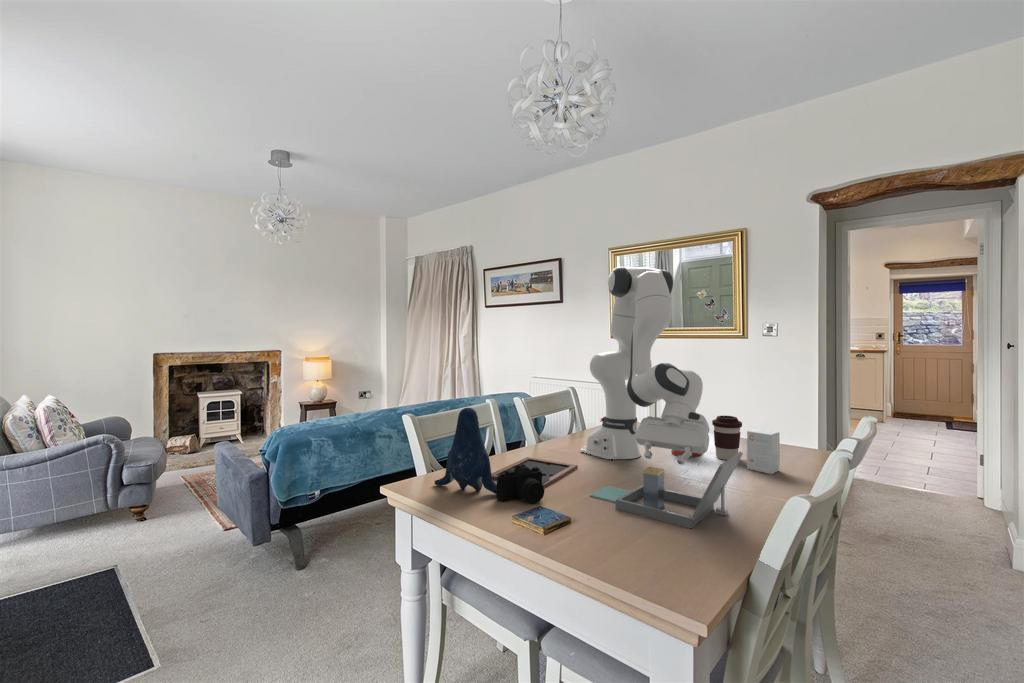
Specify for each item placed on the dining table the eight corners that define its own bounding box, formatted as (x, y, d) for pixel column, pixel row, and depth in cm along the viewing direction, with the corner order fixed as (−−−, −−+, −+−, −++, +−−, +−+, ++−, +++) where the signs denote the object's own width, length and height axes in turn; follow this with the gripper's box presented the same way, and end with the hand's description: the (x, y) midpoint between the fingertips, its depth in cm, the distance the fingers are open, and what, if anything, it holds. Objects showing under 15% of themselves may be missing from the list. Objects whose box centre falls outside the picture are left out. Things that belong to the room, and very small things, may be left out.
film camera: (509, 510, 129) (508, 476, 128) (493, 499, 137) (492, 467, 137) (557, 500, 136) (557, 468, 135) (539, 490, 144) (539, 460, 144)
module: (643, 506, 130) (643, 469, 130) (650, 502, 133) (649, 466, 133) (657, 510, 127) (657, 472, 127) (664, 506, 130) (664, 469, 130)
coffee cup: (746, 461, 172) (747, 419, 172) (718, 461, 172) (718, 419, 172) (734, 454, 182) (734, 414, 182) (707, 454, 182) (708, 414, 182)
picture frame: (542, 491, 145) (577, 470, 166) (542, 484, 144) (577, 464, 166) (487, 480, 155) (527, 461, 176) (487, 474, 155) (527, 456, 176)
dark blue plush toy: (422, 491, 144) (421, 408, 143) (443, 480, 154) (442, 402, 153) (498, 503, 133) (497, 413, 132) (515, 491, 143) (514, 407, 142)
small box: (779, 471, 161) (780, 431, 160) (771, 474, 157) (771, 434, 156) (754, 465, 167) (755, 428, 167) (746, 469, 163) (746, 430, 163)
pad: (589, 496, 139) (589, 494, 139) (607, 487, 146) (607, 485, 146) (621, 504, 132) (621, 502, 132) (638, 494, 140) (638, 493, 140)
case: (615, 508, 129) (615, 447, 128) (642, 492, 141) (642, 436, 140) (722, 537, 111) (722, 466, 110) (742, 516, 123) (743, 452, 123)
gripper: (640, 409, 146) (625, 448, 139) (709, 416, 133) (697, 459, 125) (646, 422, 149) (632, 460, 142) (715, 430, 136) (703, 473, 129)
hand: (663, 460), depth 134 cm, fingers open, 8 cm apart
